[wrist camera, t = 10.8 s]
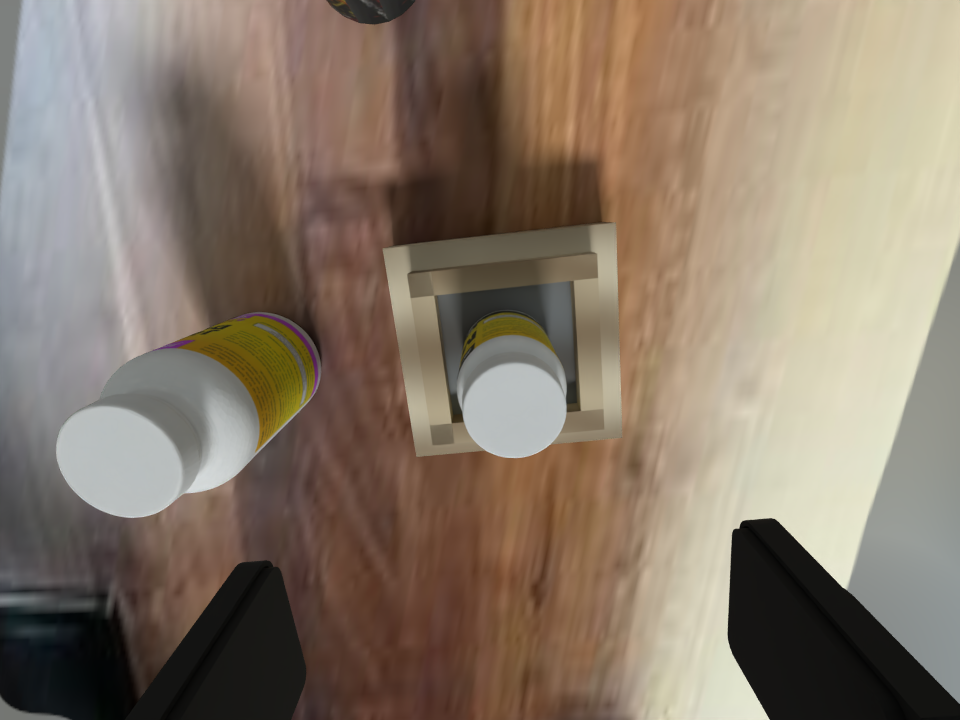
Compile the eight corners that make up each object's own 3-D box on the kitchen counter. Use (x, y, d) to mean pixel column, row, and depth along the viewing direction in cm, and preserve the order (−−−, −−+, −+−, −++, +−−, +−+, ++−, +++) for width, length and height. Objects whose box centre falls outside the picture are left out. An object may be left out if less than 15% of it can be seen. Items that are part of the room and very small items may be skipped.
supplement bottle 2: (461, 308, 26) (450, 350, 17) (550, 307, 25) (580, 348, 17) (463, 393, 27) (454, 468, 19) (548, 393, 27) (575, 467, 19)
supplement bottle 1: (268, 287, 29) (103, 339, 16) (346, 369, 30) (248, 474, 18) (195, 355, 30) (-11, 452, 18) (272, 431, 31) (133, 570, 19)
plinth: (609, 417, 31) (629, 448, 26) (423, 434, 31) (413, 468, 27) (602, 222, 27) (623, 222, 23) (393, 245, 28) (376, 250, 24)
